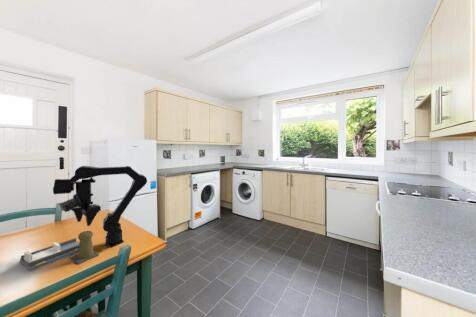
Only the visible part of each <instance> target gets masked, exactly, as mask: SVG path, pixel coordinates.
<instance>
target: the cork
mask: <svg viewBox="0 0 476 317" xmlns="http://www.w3.org/2000/svg"><path fill="white" fill-rule="evenodd" d="M93 236H94V233H93V231H91V230H85V231H82V232H80V233H79V234H78V236H77V238H78V240H79V242H78V243H79V249H78V253H77V254H78V255H77V254H76V255H77V258H78V259H85V258H88V257H91V256H92V255H93V254H94V252H95V250H94V244H93V241H92V238H93Z"/></svg>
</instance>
